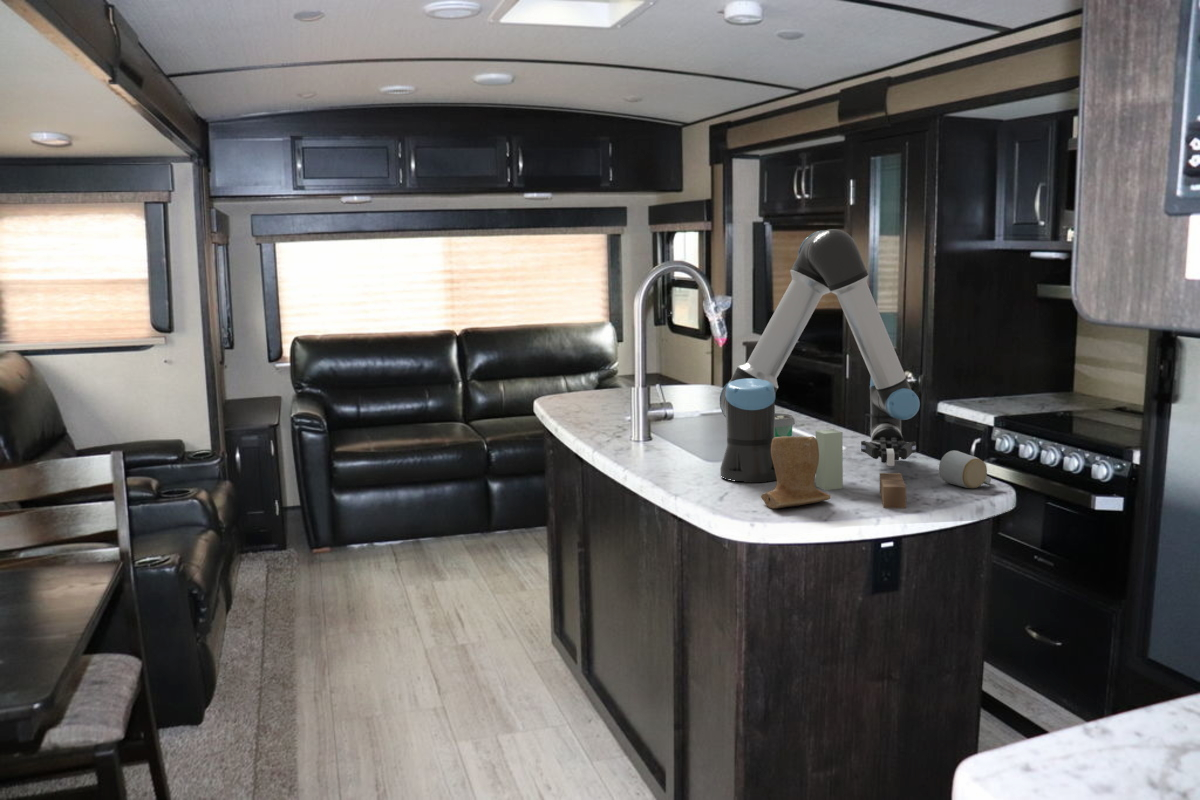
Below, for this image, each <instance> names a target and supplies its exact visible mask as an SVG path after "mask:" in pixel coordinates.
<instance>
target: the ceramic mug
mask: <svg viewBox="0 0 1200 800" xmlns="http://www.w3.org/2000/svg"><path fill="white" fill-rule="evenodd" d="M938 473H939V476H940V479H941V480H942V481H943V482H944V483H946V484H950V485H954V486H958V487H962V488H965V489H977V488H979V487H980V486H982V485H983V484H986V485H989V484H991V480H992V477H990V476H988V469H987V465H986V463H985V462H984V461H983V460H982V459H980V458H979V457H976V456H973V455H970V454H968V453H965V452H961V451H959V450H950V451H948V452H946V453H945V454H944V455H943V456H942V457H941V459H940V461H939V466H938Z"/></svg>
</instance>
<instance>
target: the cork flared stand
mask: <svg viewBox="0 0 1200 800" xmlns="http://www.w3.org/2000/svg"><path fill="white" fill-rule="evenodd" d="M771 457H772V461H773V464H774V468H775V473H776V478H777V480H776V486H775V488H774V489H772V490H770V491H766V492H764V493H762V494H761V495H760V499H761V500H762V501H763V503H764V504H765V505H766V506H767V507H768V508H770V509H781V508H782V509H784V508H790V507H798V506H804V505H810V504H815V503H818V502H819V503H820V502H823V501H828V500H830V499H831V498H832V497H831V495H830V494H828V493H826V492H824V491H822V490H820V489H818V487H817V486H816V471H817V467H818V462H819V448H818V442H817V440H816V436H803V435H802V436H797V435H796V436H795V435H794V436H793V435H792V436H789V437H787V436H783V437H774V438H773V439H772V443H771Z"/></svg>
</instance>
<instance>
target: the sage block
mask: <svg viewBox="0 0 1200 800" xmlns="http://www.w3.org/2000/svg"><path fill="white" fill-rule="evenodd" d="M843 434H844V433H843V431H839V430H836V429H832V428H831V429H821V430H815V438H816V440H817V442H818V448H819V462H818V467H817V471H816V475H815V487H816V488H819V489H821V490H823V489H824V491H827V490H828V491H829V490H841V489H843V487H844V485H843V483H844V478H843V477H844V475H843V474H844V471H843V470H844V469H843V468H844V466H843V461H844V460H843V459H844V458H843V457H844V456H843V454H844V453H843V447H844V446H843V443H844V442H843V441H844V440H843V438H844V437H843Z"/></svg>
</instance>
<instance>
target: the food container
mask: <svg viewBox="0 0 1200 800" xmlns="http://www.w3.org/2000/svg"><path fill="white" fill-rule="evenodd" d="M795 421H796V420H795V418H794V415H793V414H790V413H780V412H778V413H777V412H775V437H783V436H787V437H789V436H793V425H795V423H796V422H795Z"/></svg>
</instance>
